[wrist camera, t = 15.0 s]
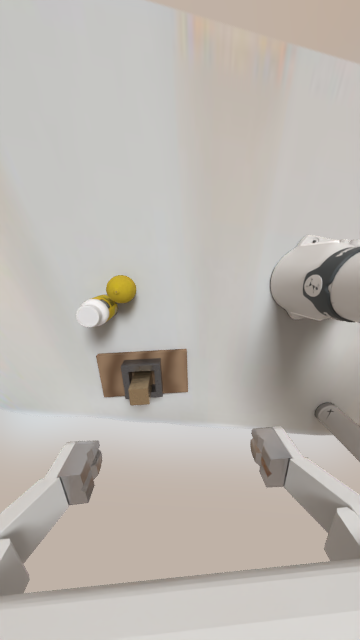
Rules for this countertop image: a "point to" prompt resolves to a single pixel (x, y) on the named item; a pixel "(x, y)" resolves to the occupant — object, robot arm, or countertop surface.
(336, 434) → the travel mug
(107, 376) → the dock board
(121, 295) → the lemon
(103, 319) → the supplement bottle
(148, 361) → the collar
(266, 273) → the countertop surface
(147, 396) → the square bar
